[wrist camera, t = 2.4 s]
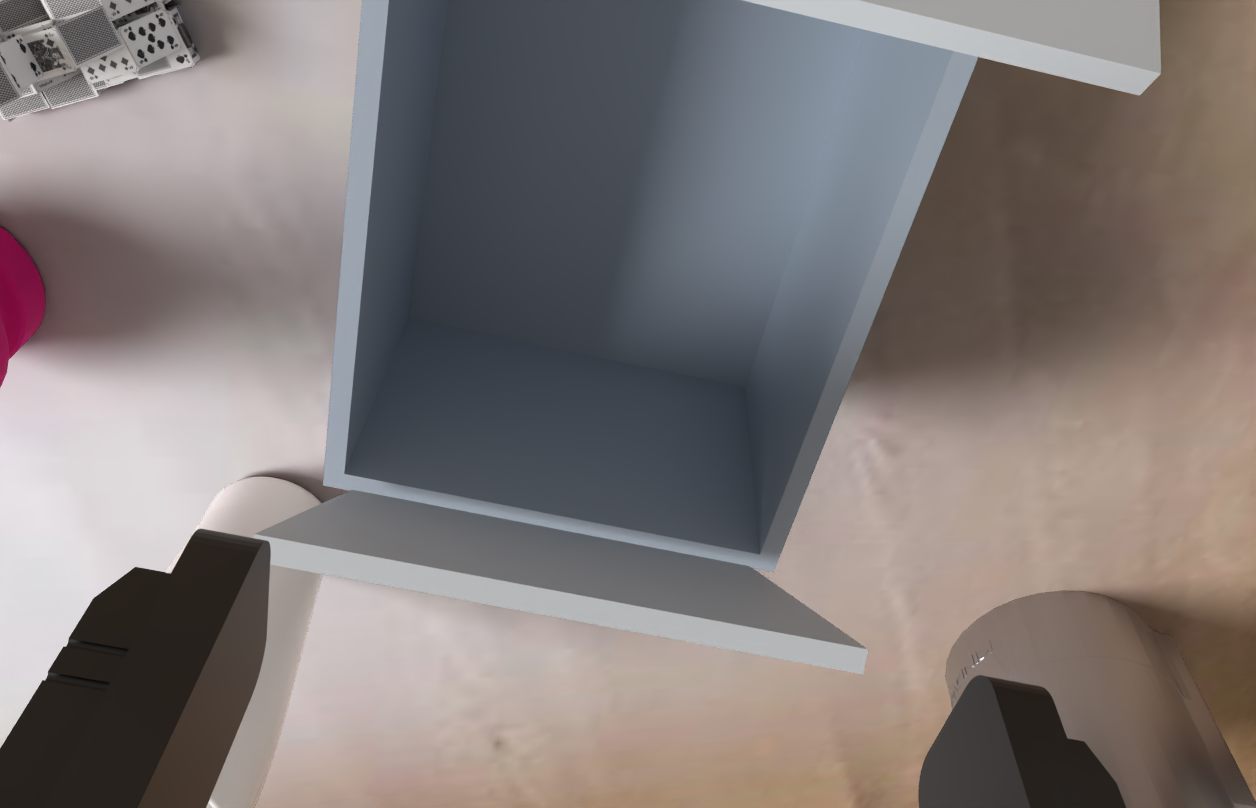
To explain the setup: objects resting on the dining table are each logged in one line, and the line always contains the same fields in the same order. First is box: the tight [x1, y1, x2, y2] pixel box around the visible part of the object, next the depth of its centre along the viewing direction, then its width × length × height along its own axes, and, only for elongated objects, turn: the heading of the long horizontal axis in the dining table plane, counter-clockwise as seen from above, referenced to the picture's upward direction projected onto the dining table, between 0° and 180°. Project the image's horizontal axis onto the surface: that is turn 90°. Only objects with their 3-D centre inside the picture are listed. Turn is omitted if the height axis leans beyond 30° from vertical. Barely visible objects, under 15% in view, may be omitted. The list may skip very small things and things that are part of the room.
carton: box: [323, 0, 978, 572], centre depth 31 cm, size 14×26×10 cm, turn 168°
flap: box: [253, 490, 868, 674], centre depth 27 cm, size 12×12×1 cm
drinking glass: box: [165, 477, 323, 808], centre depth 41 cm, size 7×7×15 cm
